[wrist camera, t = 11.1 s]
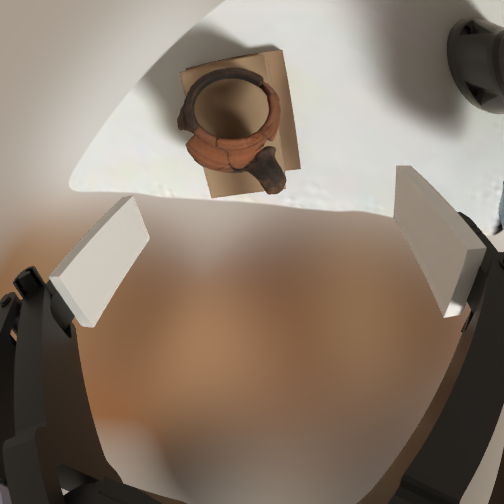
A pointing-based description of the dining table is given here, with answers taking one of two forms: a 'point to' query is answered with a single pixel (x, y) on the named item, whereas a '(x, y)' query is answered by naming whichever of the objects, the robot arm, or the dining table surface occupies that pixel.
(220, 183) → the stand
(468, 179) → the dining table surface
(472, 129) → the dining table surface
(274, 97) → the broken clay pot
